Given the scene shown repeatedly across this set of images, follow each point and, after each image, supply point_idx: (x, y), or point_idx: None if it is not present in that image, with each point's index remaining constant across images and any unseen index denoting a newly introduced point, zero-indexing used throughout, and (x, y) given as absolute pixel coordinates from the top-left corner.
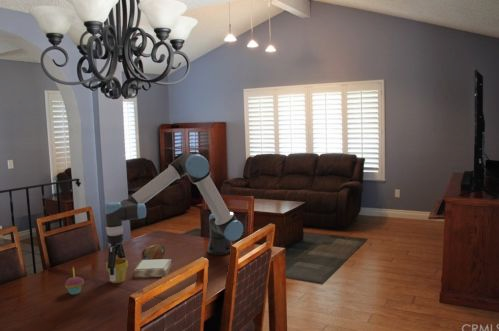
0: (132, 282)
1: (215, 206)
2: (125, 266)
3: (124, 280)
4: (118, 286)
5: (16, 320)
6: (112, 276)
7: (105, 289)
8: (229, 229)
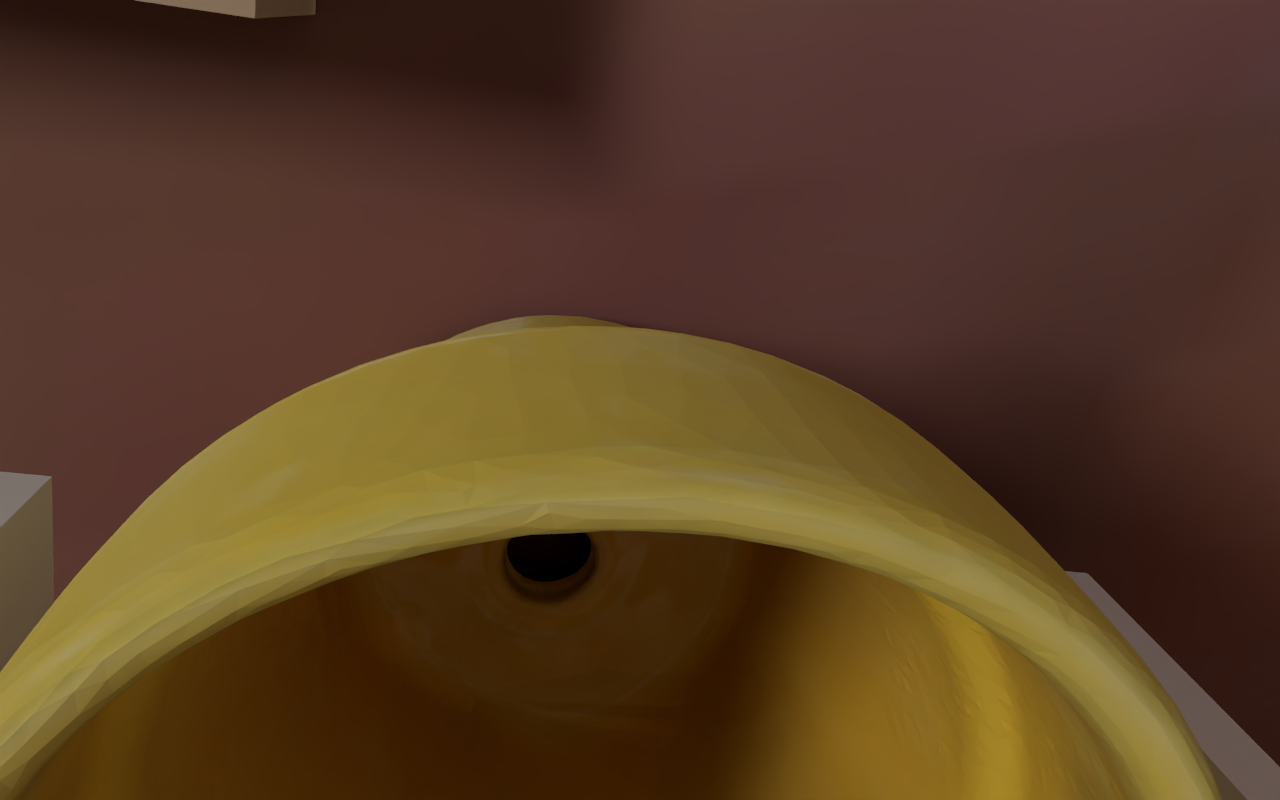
0: (827, 19)
1: None
2: (905, 439)
3: (619, 325)
4: (1037, 427)
5: None
6: None
7: None
8: None
